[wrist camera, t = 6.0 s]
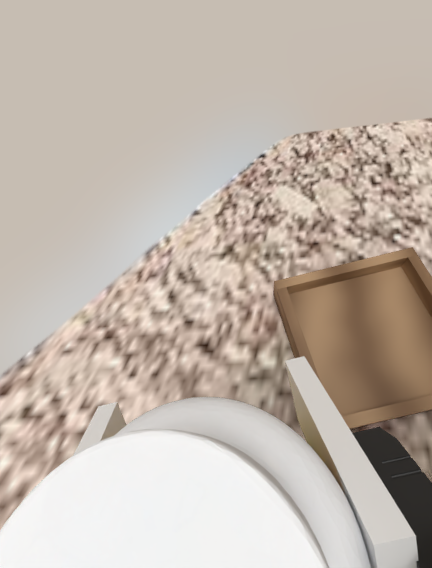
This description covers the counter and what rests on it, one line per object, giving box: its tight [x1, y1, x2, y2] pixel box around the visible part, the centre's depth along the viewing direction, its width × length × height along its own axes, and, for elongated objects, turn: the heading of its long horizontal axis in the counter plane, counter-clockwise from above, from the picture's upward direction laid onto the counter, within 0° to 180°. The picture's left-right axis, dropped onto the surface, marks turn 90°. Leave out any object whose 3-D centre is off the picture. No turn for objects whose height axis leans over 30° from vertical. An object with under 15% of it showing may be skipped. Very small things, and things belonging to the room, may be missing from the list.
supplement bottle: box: [0, 397, 371, 568], centre depth 9 cm, size 7×7×13 cm
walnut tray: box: [273, 247, 432, 429], centre depth 25 cm, size 12×12×2 cm
